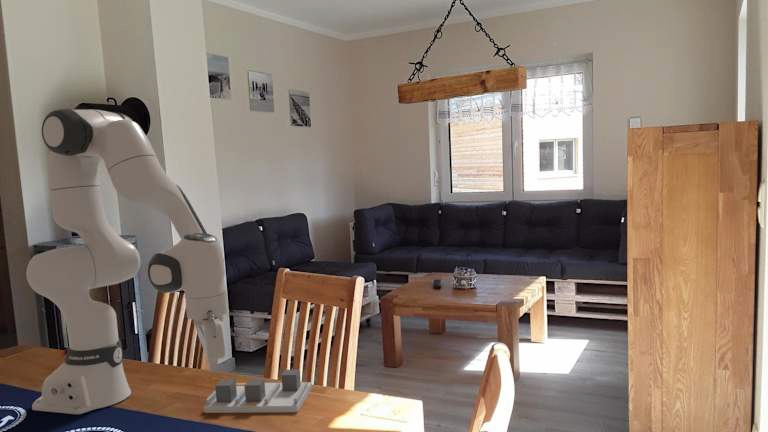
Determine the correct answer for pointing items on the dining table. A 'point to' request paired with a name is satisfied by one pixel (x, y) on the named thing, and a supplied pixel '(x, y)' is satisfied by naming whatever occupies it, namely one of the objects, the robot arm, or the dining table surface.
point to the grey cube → (291, 380)
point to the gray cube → (226, 391)
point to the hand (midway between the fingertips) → (213, 368)
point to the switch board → (271, 402)
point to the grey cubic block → (255, 390)
